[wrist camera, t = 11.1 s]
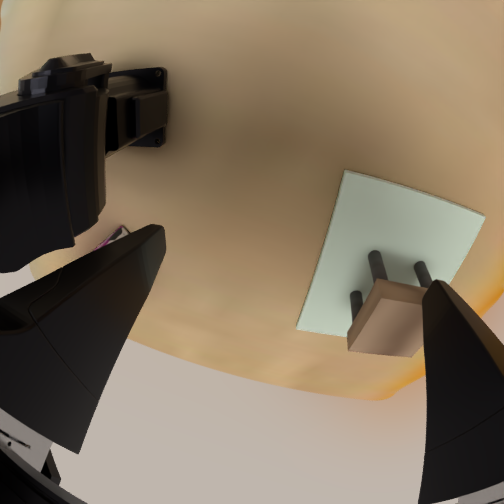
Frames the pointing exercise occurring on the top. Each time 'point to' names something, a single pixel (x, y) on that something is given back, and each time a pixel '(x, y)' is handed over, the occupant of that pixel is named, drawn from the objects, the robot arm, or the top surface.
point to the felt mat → (383, 245)
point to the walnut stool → (388, 313)
